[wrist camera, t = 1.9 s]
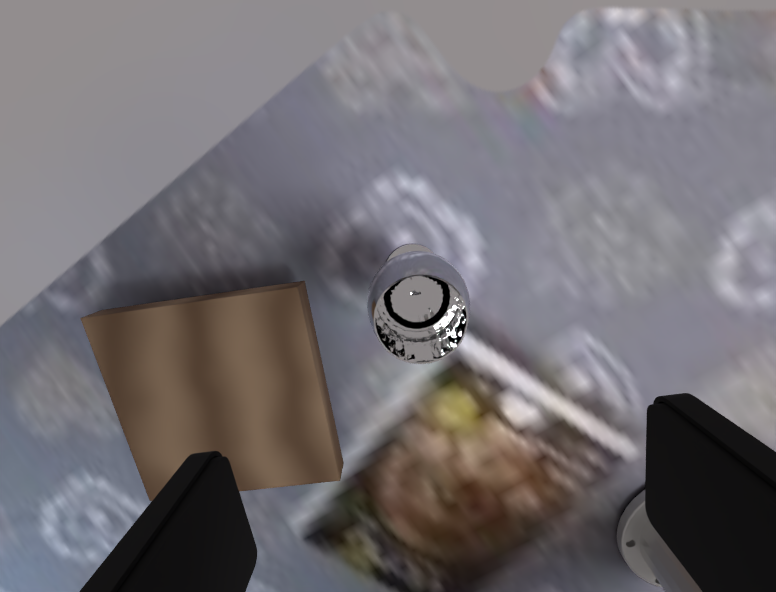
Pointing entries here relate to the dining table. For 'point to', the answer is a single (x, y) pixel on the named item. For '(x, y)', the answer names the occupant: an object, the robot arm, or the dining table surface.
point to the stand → (221, 385)
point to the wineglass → (418, 305)
